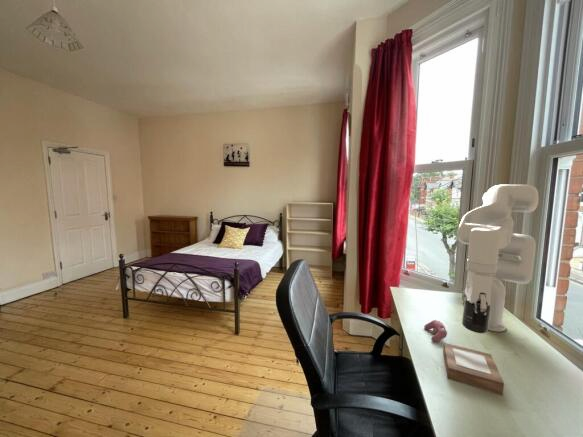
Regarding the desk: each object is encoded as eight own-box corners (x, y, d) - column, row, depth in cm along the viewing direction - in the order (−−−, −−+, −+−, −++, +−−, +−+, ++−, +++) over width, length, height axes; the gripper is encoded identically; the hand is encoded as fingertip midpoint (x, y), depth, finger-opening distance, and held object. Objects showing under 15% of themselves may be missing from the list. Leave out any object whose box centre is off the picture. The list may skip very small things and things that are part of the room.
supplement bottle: (465, 331, 78) (469, 296, 76) (459, 320, 84) (462, 287, 82) (491, 335, 75) (496, 299, 74) (482, 324, 82) (486, 290, 80)
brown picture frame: (443, 352, 91) (444, 342, 91) (489, 364, 85) (491, 353, 84) (447, 378, 79) (448, 367, 78) (502, 395, 73) (504, 382, 72)
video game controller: (441, 346, 97) (451, 333, 95) (430, 340, 97) (440, 327, 96) (432, 332, 106) (441, 319, 105) (422, 326, 107) (431, 314, 105)
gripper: (462, 257, 86) (457, 304, 89) (472, 273, 71) (466, 330, 73) (488, 260, 83) (482, 309, 85) (505, 278, 67) (498, 337, 70)
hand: (475, 318), depth 79 cm, fingers closed on supplement bottle, 6 cm apart
